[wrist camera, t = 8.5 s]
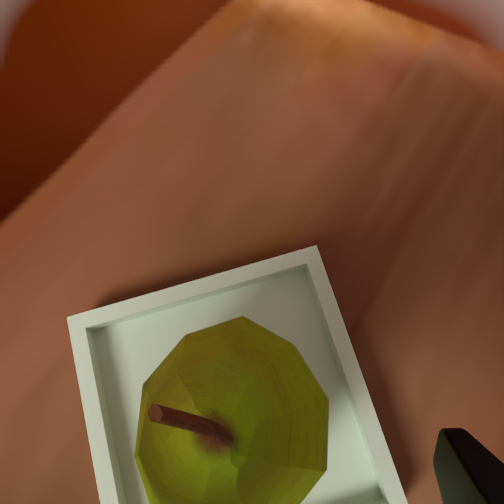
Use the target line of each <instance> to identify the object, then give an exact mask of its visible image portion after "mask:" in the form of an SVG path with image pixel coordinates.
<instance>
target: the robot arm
mask: <svg viewBox="0 0 504 504" xmlns="http://www.w3.org/2000/svg"><path fill="white" fill-rule="evenodd" d="M433 465H434V471H435V475H436V478H437V482H438V486H439V490H440V493H441V497H442V501H443V504H504V464H503V463H502V462H501V461H500V460H499V459H498V458H497V457H495V456H494V455H493V454H492V453H491V452H490V451H489V450H488V449H486V448H485V447H484V446H483V445H482V444H481V443H480V442H479V441H477V440H476V439H475V438H474V437H473V436H472V435H471V434H470V433H468V432H467V431H466V430H464V429H462V428H443V429H441V430H440V431H439V434H438V439H437V443H436V447H435V452H434V457H433Z"/></svg>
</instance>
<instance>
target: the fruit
mask: <svg viewBox="0 0 504 504" xmlns="http://www.w3.org/2000/svg"><path fill="white" fill-rule="evenodd" d="M328 422H329V399H328V397H327V396H326V394H325V393H324V391H323V390H322V388H321V386H320V385H319V383H318V382H317V380H316V378H315V377H314V375H313V374H312V372H311V370H310V369H309V367H308V366H307V364H306V362H305V361H304V359H303V358H302V356H301V355H300V353H299V351H298V350H297V348H296V347H295V345H294V344H292V343H291V342H289V341H287V340H285V339H283V338H282V337H280V336H278V335H276V334H275V333H273V332H271V331H269V330H267V329H266V328H264V327H262V326H260V325H259V324H257V323H255V322H253V321H251V320H250V319H248V318H246V317H244V316H241V317H238V318H235V319H232V320H228V321H225V322H222V323H219V324H216V325H213V326H210V327H207V328H204V329H201V330H198V331H195V332H192V333H189V334H186V335H185V336H184V337H183V338H182V339H181V340H180V341H179V343H178V344H177V345H176V346H175V347H174V348H173V350H172V351H171V352H170V353H169V354H168V355H167V357H166V358H165V359H164V360H163V361H162V362H161V364H160V365H159V366H158V367H157V368H156V369H155V371H154V372H153V373H152V374H151V375H150V376H149V378H148V379H147V380H146V381H145V382H144V383H143V386H142V395H141V403H140V412H139V420H138V429H137V438H136V446H135V453H134V458H135V461H136V464H137V467H138V470H139V473H140V476H141V479H142V482H143V485H144V488H145V491H146V494H147V498H148V501H149V504H301V503H302V501H303V500H304V499H305V497H306V496H307V495H308V494H309V492H310V491H311V490H312V488H313V487H314V486H315V485H316V483H317V482H318V481H319V480H320V478H321V477H322V476H323V474H324V473H325V472H326V471H327V457H328Z"/></svg>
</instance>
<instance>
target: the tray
mask: <svg viewBox="0 0 504 504" xmlns="http://www.w3.org/2000/svg"><path fill="white" fill-rule="evenodd" d="M241 316H244V317H246V318H248V319H250V320H251V321H253V322H255V323H257V324H259V325H260V326H262V327H264V328H266V329H267V330H269V331H271V332H273V333H275V334H276V335H278V336H280V337H282V338H283V339H285V340H287V341H289V342H291V343H292V344H294V345H295V347H296V348H297V350H298V351H299V353H300V355H301V356H302V358H303V359H304V361H305V362H306V364H307V366H308V367H309V369H310V370H311V372H312V374H313V375H314V377H315V378H316V380H317V382H318V383H319V385H320V386H321V388H322V390H323V391H324V393H325V394H326V396H327V397H328V399H329V422H328V457H327V471H326V472H325V473H324V474H323V476H322V477H321V478H320V480H319V481H318V482H317V483H316V485H315V486H314V487H313V488H312V490H311V491H310V492H309V494H308V495H307V496H306V497H305V499H304V500H303V501H302V503H301V504H408V502H407V500H406V497H405V494H404V491H403V488H402V486H401V483H400V480H399V477H398V474H397V471H396V469H395V466H394V463H393V460H392V457H391V454H390V452H389V449H388V446H387V443H386V440H385V437H384V435H383V432H382V429H381V426H380V423H379V420H378V418H377V415H376V412H375V409H374V406H373V403H372V401H371V398H370V395H369V392H368V389H367V386H366V384H365V381H364V378H363V375H362V372H361V369H360V367H359V364H358V361H357V358H356V355H355V352H354V350H353V347H352V344H351V341H350V338H349V335H348V333H347V330H346V327H345V324H344V321H343V318H342V316H341V313H340V310H339V307H338V304H337V301H336V299H335V296H334V293H333V290H332V287H331V284H330V282H329V279H328V276H327V273H326V270H325V267H324V265H323V262H322V259H321V256H320V253H319V251H318V248H317V245H315V246H311V247H308V248H304V249H301V250H298V251H294V252H291V253H287V254H284V255H280V256H277V257H273V258H270V259H266V260H263V261H259V262H256V263H253V264H249V265H246V266H242V267H239V268H235V269H232V270H228V271H225V272H221V273H218V274H215V275H211V276H208V277H204V278H201V279H197V280H194V281H190V282H187V283H183V284H180V285H176V286H173V287H170V288H166V289H163V290H159V291H156V292H152V293H149V294H145V295H142V296H138V297H135V298H132V299H128V300H125V301H121V302H118V303H114V304H111V305H107V306H104V307H100V308H97V309H93V310H90V311H87V312H83V313H80V314H76V315H73V316H69V317H67V321H68V327H69V332H70V338H71V344H72V349H73V355H74V360H75V366H76V371H77V377H78V382H79V388H80V393H81V399H82V405H83V410H84V416H85V421H86V427H87V432H88V438H89V443H90V449H91V454H92V460H93V465H94V471H95V477H96V482H97V488H98V493H99V499H100V504H149V501H148V498H147V494H146V491H145V488H144V485H143V482H142V479H141V476H140V473H139V470H138V467H137V464H136V461H135V458H134V453H135V446H136V438H137V429H138V420H139V412H140V403H141V395H142V386H143V383H144V382H145V381H146V380H147V379H148V378H149V376H150V375H151V374H152V373H153V372H154V371H155V369H156V368H157V367H158V366H159V365H160V364H161V362H162V361H163V360H164V359H165V358H166V357H167V355H168V354H169V353H170V352H171V351H172V350H173V348H174V347H175V346H176V345H177V344H178V343H179V341H180V340H181V339H182V338H183V337H184V336H185V335H186V334H189V333H192V332H195V331H198V330H201V329H204V328H207V327H210V326H213V325H216V324H219V323H222V322H225V321H228V320H232V319H235V318H238V317H241Z"/></svg>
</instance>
